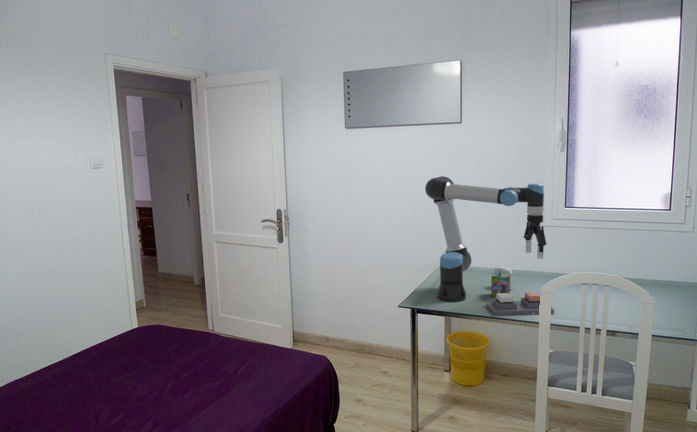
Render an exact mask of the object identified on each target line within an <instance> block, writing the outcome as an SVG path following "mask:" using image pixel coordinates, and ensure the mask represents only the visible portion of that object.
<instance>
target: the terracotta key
mask: <svg viewBox="0 0 697 432" xmlns="http://www.w3.org/2000/svg"><path fill="white" fill-rule="evenodd" d="M540 295H541V294H540V293H539V292H537V291H536V292H535V291H533V292H531V291H530V292H524V297H525V298H526V299H527V300H529V301H540Z"/></svg>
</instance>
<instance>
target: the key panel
mask: <svg viewBox="0 0 697 432" xmlns="http://www.w3.org/2000/svg"><path fill="white" fill-rule="evenodd" d="M539 305H540V301H529V300H527V299H526V298H525V296H524V297H520V300H513V302H500V301H499V300H498V299H497V298H492V301H486V302H485V306H486V308H487V307H488V308H489V309H490V310H491V311H492V312H491V311H490V310H489V309H488V310H489V311H490V312H491V313H492V315H493V316H509V315H508V314H525V315H533V314H532V313H535V314H534V315H540V314H539ZM536 313H538V314H536ZM551 313H552V314H553V313H554V314H555V309H554V308H553V307H551ZM552 314H551V315H552Z"/></svg>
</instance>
